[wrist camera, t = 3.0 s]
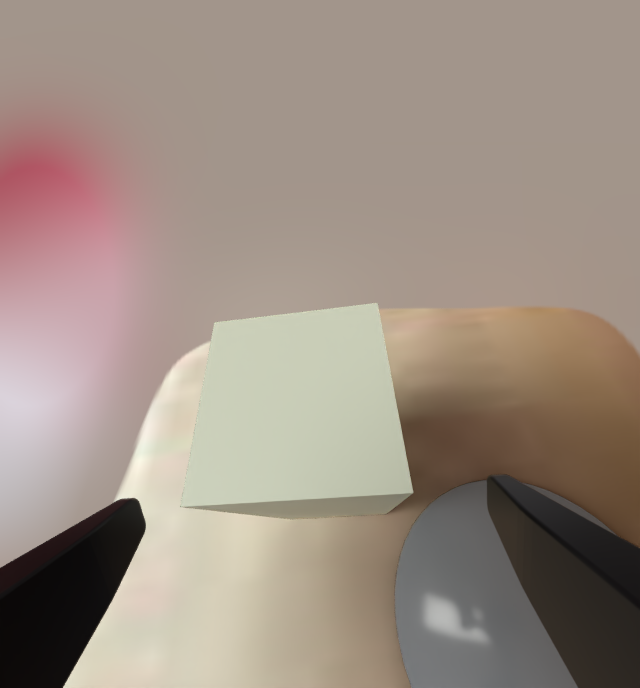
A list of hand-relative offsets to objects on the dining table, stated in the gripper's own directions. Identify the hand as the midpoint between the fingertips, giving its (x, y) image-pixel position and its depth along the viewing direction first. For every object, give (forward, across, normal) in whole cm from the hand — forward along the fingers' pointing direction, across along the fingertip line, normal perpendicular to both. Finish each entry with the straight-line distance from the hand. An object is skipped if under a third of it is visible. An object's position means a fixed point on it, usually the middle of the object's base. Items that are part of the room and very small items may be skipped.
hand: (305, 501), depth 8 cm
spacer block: (+8, 0, +5) cm, 10 cm away
